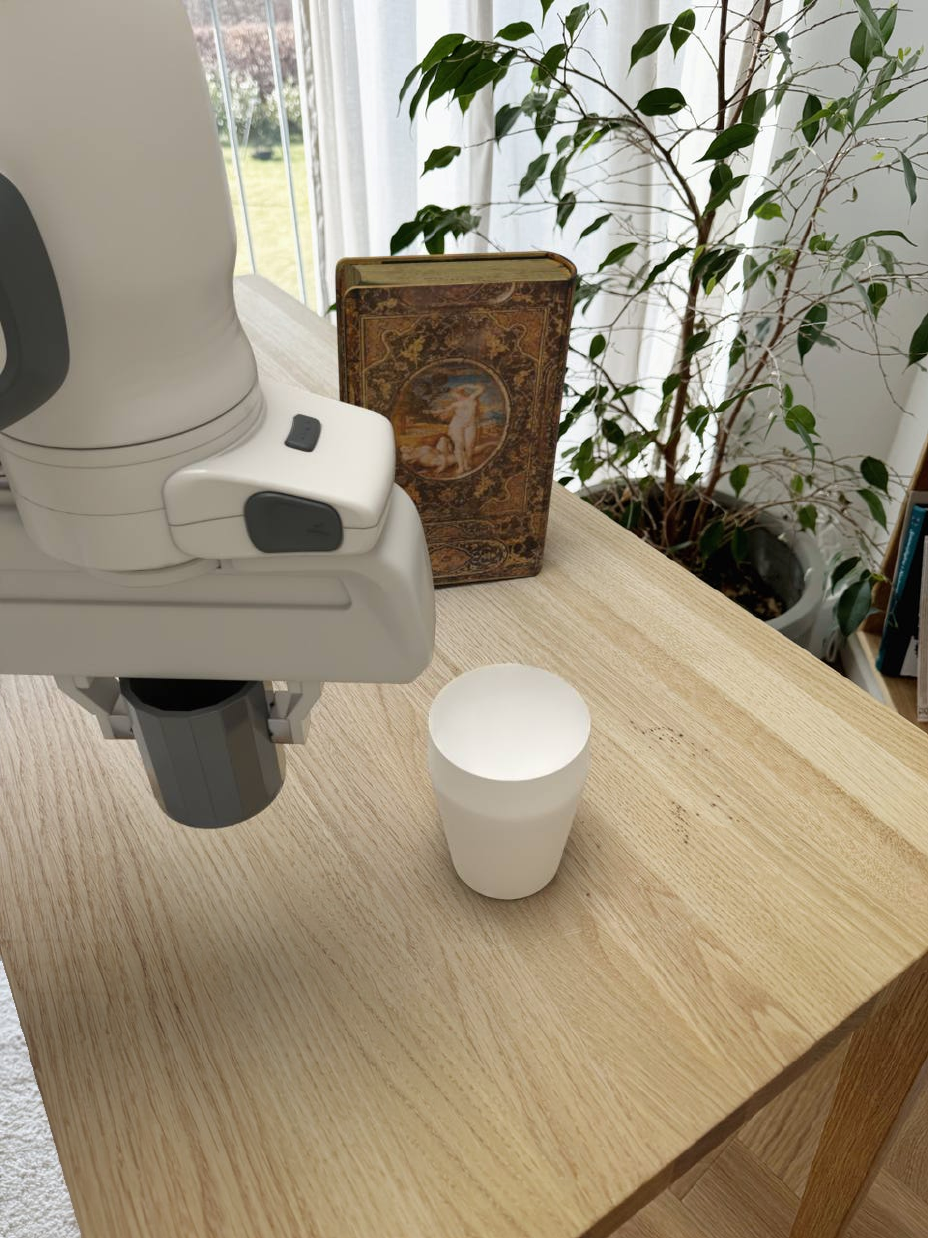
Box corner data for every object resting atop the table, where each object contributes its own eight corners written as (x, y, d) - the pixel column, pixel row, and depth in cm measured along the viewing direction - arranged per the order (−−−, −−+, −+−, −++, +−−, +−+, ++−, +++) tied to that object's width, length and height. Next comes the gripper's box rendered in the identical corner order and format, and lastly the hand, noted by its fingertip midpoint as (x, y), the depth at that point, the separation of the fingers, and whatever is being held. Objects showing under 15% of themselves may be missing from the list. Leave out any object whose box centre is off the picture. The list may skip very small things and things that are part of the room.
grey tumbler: (138, 827, 43) (98, 715, 38) (174, 728, 47) (143, 618, 43) (273, 831, 42) (249, 719, 38) (296, 731, 47) (278, 621, 43)
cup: (469, 942, 55) (467, 807, 47) (410, 825, 61) (400, 689, 54) (606, 885, 58) (626, 749, 50) (537, 779, 64) (544, 643, 56)
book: (532, 536, 85) (563, 249, 69) (549, 574, 81) (586, 279, 65) (345, 553, 82) (332, 257, 66) (353, 593, 78) (341, 288, 62)
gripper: (-197, 503, 32) (-51, 780, 41) (421, 514, 31) (433, 793, 40) (-104, 412, 37) (8, 677, 46) (434, 419, 36) (441, 687, 45)
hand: (211, 731), depth 43 cm, fingers closed on grey tumbler, 6 cm apart
